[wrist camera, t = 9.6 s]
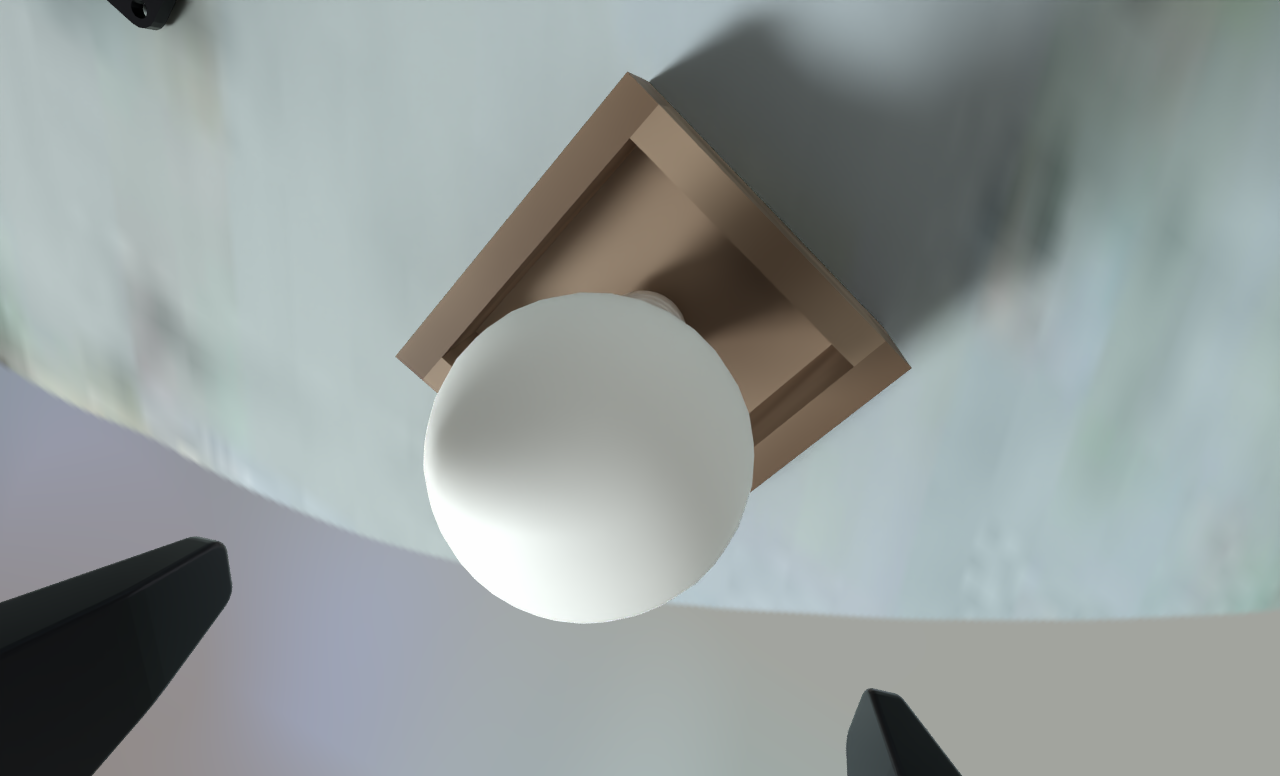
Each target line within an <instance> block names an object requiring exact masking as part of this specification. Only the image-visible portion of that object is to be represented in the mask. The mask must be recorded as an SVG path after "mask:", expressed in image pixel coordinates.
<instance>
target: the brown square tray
mask: <svg viewBox="0 0 1280 776" xmlns="http://www.w3.org/2000/svg"><path fill="white" fill-rule="evenodd" d="M639 290H643V291H652V292H656V293H659V294H661V295H663V296H665V297H667V298H668V299H670V300H671V301H672V302H673V303H674V304H675V305H676V306H677V307H678V309H679V310H680V312H681V313H682V315H683V318H684V320H685V323H686V324H687V325H689V326H690V327H692V328H693V329H695V330H696V331H697V332H698V333H699V334H700V335H701V336H702V337H703V339H704V340H705V341H706V342H707V343H708V344H709V345H710V346H711V347H712V348H713V349H714V350H715V351H716V352H717V354H718V355H719V357H720V358H721V360H722V361H723V363H724V364H725V366H726V367H727V369H728V370H729V372H730V373H731V375H732V377H733V378H734V380H735V382H736V383H737V385H738V387H739V389H740V392H741V394H742V397H743V400H744V402H745V405H746V407H747V410H748V412H749V416H750V423H751V429H752V435H753V442H754V466H753V480H752V487H751V491H753V490H754V489H755V488H757V487H758V486H759V485H760V484H762V483H763V482H764V481H766V480H767V479H768V478H770V477H771V476H772V475H773V474H775V473H776V472H777V471H779V470H780V469H781V468H782V467H784V466H785V465H786V464H788V463H789V462H790V461H792V460H793V459H794V458H795V457H797V456H798V455H799V454H801V453H802V452H803V451H805V450H806V449H807V448H808V447H810V446H811V445H812V444H814V443H815V442H816V441H818V440H819V439H820V438H821V437H823V436H824V435H825V434H827V433H828V432H829V431H831V430H832V429H833V428H834V427H836V426H837V425H838V424H840V423H841V422H842V421H843V420H845V419H846V418H847V417H849V416H850V415H851V414H853V413H854V412H855V411H856V410H858V409H859V408H860V407H862V406H863V405H864V404H866V403H867V402H868V401H869V400H871V399H872V398H873V397H875V396H876V395H877V394H879V393H880V392H881V391H882V390H884V389H885V388H886V387H888V386H889V385H890V384H892V383H893V382H894V381H895V380H897V379H898V378H899V377H901V376H902V375H903V374H904V373H906V372H907V371H908V370H910V369H911V367H910V365H909V364H908V362H907V361H906V359H905V358H904V357H903V355H902V354H901V352H900V351H899V349H898V348H897V346H896V345H895V344H894V342H893V341H892V339H891V338H890V336H889V335H888V334H887V332H886V331H885V329H884V328H883V327H882V326H881V325H880V324H879V323H878V322H877V320H876V319H875V318H874V317H873V316H872V315H871V314H870V313H869V312H868V311H867V310H866V309H865V308H864V307H863V306H862V305H861V304H860V303H859V302H858V301H857V300H856V298H855V297H854V296H853V295H852V294H851V293H850V292H849V291H848V290H847V289H846V288H845V287H844V286H843V285H842V284H841V283H840V282H839V281H838V280H837V279H836V278H835V276H834V275H833V274H832V273H831V272H830V271H829V270H828V269H827V268H826V267H825V266H824V265H823V264H822V263H821V262H820V261H819V260H818V259H817V258H816V257H815V256H814V254H813V253H812V252H811V251H810V250H809V249H808V248H807V247H806V246H805V245H804V244H803V243H802V242H801V241H800V240H799V239H798V238H797V237H796V236H795V235H794V234H793V232H792V231H791V230H790V229H789V228H788V227H787V226H786V225H785V224H784V223H783V222H782V221H781V220H780V219H779V218H778V217H777V216H776V215H775V214H774V213H773V212H772V210H771V209H770V208H769V207H768V206H767V205H766V204H765V203H764V202H763V201H762V200H761V199H760V198H759V197H758V196H757V195H756V194H755V193H754V192H753V191H752V190H751V188H750V187H749V186H748V185H747V184H746V183H745V182H744V181H743V180H742V179H741V178H740V177H739V176H738V175H737V174H736V173H735V172H734V171H733V170H732V169H731V168H730V166H729V165H728V164H727V163H726V162H725V161H724V160H723V159H722V158H721V157H720V156H719V155H718V154H717V153H716V152H715V151H714V150H713V149H712V148H711V147H710V146H709V144H708V143H707V142H706V141H705V140H704V139H703V138H702V137H701V136H700V135H699V134H698V133H697V132H696V131H695V130H694V129H693V128H692V127H691V126H690V125H689V124H688V122H687V121H686V120H685V119H684V118H683V117H682V116H681V115H680V114H679V113H678V112H677V111H676V110H675V109H674V108H673V107H672V106H671V105H670V104H669V103H668V102H667V100H666V99H665V98H664V97H663V96H662V95H661V94H660V93H659V92H658V91H657V90H656V89H655V88H654V87H653V86H652V85H651V84H650V83H649V82H648V81H646V80H644V79H642V78H640V77H638V76H636V75H633V74H631V73H629V72H627V73H626V74H625V75H624V77H623V78H622V79H621V80H620V81H619V83H618V84H617V85H616V86H615V88H614V89H613V90H612V91H611V93H610V94H609V95H608V96H607V97H606V99H605V100H604V101H603V102H602V104H601V105H600V106H599V107H598V108H597V110H596V111H595V112H594V113H593V115H592V116H591V117H590V118H589V119H588V121H587V122H586V123H585V124H584V126H583V127H582V128H581V129H580V131H579V132H578V133H577V134H576V135H575V137H574V138H573V139H572V140H571V142H570V143H569V144H568V145H567V146H566V148H565V149H564V150H563V151H562V153H561V154H560V155H559V156H558V158H557V159H556V160H555V161H554V162H553V164H552V165H551V166H550V167H549V169H548V170H547V171H546V172H545V173H544V175H543V176H542V177H541V178H540V180H539V181H538V182H537V183H536V185H535V186H534V187H533V188H532V189H531V191H530V192H529V193H528V194H527V196H526V197H525V198H524V199H523V200H522V202H521V203H520V204H519V205H518V207H517V208H516V209H515V210H514V212H513V213H512V214H511V215H510V216H509V218H508V219H507V220H506V221H505V223H504V224H503V225H502V226H501V227H500V229H499V230H498V231H497V232H496V234H495V235H494V236H493V237H492V239H491V240H490V241H489V242H488V243H487V245H486V246H485V247H484V248H483V250H482V251H481V252H480V253H479V254H478V256H477V257H476V258H475V259H474V261H473V262H472V263H471V264H470V266H469V267H468V268H467V269H466V270H465V272H464V273H463V274H462V275H461V277H460V278H459V279H458V280H457V281H456V283H455V284H454V285H453V286H452V288H451V289H450V290H449V291H448V293H447V294H446V295H445V296H444V297H443V299H442V300H441V301H440V302H439V304H438V305H437V306H436V307H435V308H434V310H433V311H432V312H431V313H430V315H429V316H428V317H427V318H426V320H425V321H424V322H423V323H422V324H421V326H420V327H419V328H418V329H417V331H416V332H415V333H414V334H413V335H412V337H411V338H410V339H409V340H408V342H407V343H406V344H405V345H404V347H403V348H402V349H401V350H400V351H399V353H398V354H397V355H396V356H395V357H397V358H398V359H399V360H400V361H401V362H402V363H403V364H405V365H406V366H407V367H408V368H409V369H410V370H412V371H413V372H414V373H415V374H416V375H417V376H418V377H420V378H421V379H422V380H423V381H424V382H425V383H426V384H428V385H429V386H430V387H431V388H432V389H433V390H434V391H436V392H437V393H438V392H439V390H440V388H441V386H442V384H443V382H444V380H445V378H446V377H447V375H448V373H449V371H450V369H451V368H452V366H453V364H454V362H455V361H456V359H457V358H458V357H459V356H460V355H461V353H462V352H463V351H464V350H465V349H466V348H467V347H468V346H469V345H470V344H471V343H472V341H473V340H474V339H475V338H476V337H477V336H479V335H480V334H481V333H482V332H483V331H484V330H485V329H487V328H488V327H489V326H491V325H492V324H494V323H495V322H497V321H498V320H500V319H501V318H503V317H504V316H505V315H507V314H508V313H510V312H511V311H514V310H516V309H519V308H521V307H524V306H526V305H529V304H531V303H534V302H537V301H539V300H543V299H548V298H553V297H559V296H564V295H570V294H576V293H612V294H616V295H621V296H623V295H624V294H627V293H630V292H633V291H639ZM751 491H750V492H751Z"/></svg>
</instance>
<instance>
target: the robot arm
mask: <svg viewBox="0 0 1280 776" xmlns="http://www.w3.org/2000/svg"><path fill="white" fill-rule="evenodd" d="M107 1H109V2H110V3H111V4H112V5H113V6H114V7H115V8H116V9H117V10H119V11H120V12H121V13H122V14H123V15H124V16H125V17H126V18H127V19H128V20H130V21H131V22H132V23H133V24H135V25H136V26H138V27H140V28H146V29H152V30H158V29H161V28H162V27H163V26H164V25H165V23H166V21H167V19H168V17H169V14H170V12H171V10H172V8H173V6H174V4H175V2H176V0H107ZM143 4H145V5H146V8H147V16H145V14H144V11H143ZM231 592H232V581H231V574H230V567H229V561H228V554H227V549H226V547H225V546H224V545H223V543H221V542H219V541H216V540H210V539H207V538H202V537H189V538H186V539H183V540H180V541H177V542H175V543H172V544H169V545H166V546H163V547H160V548H157V549H154V550H151V551H148V552H146V553H143V554H140V555H137V556H134V557H131V558H128V559H125V560H122V561H119V562H117V563H114V564H111V565H108V566H105V567H102V568H99V569H96V570H93V571H90V572H88V573H85V574H82V575H79V576H76V577H73V578H70V579H67V580H64V581H61V582H59V583H56V584H53V585H50V586H47V587H44V588H41V589H39V590H35V591H33V592H30V593H27V594H24V595H21V596H18V597H16V598H12V599H9V600H6V601H4V602H1V603H0V776H92V775H93V774H94V773H95V771H96V770H97V769H98V768H99V767H100V766H101V765H102V763H103V762H104V761H105V760H106V759H107V758H108V756H109V755H110V754H111V753H112V752H113V751H114V750H115V748H116V747H117V746H118V745H119V744H120V743H121V741H122V740H123V739H124V738H125V737H126V736H127V735H128V734H129V732H130V731H131V730H132V729H133V727H135V725H136V724H137V723H138V722H139V721H140V719H141V718H142V717H143V716H144V715H145V714H146V712H147V711H148V710H149V709H150V707H151V706H152V705H153V704H154V703H155V701H156V700H157V699H158V697H159V696H160V695H161V693H162V692H163V691H164V690H165V688H166V687H167V686H168V684H169V683H170V681H171V680H172V679H173V677H174V676H175V675H176V673H177V672H178V670H179V669H180V668H181V666H182V665H183V664H184V662H185V661H186V660H187V658H188V657H189V655H190V654H191V653H192V651H193V650H194V649H195V647H196V646H197V645H198V643H199V642H200V640H201V639H202V638H203V636H204V635H205V634H206V632H207V631H208V629H209V628H210V627H211V625H212V624H213V622H214V621H215V620H216V618H217V617H218V615H219V614H220V613H221V612H222V610H223V609H224V607H225V606H226V604H227V603H228V601H229V599H230V596H231ZM846 756H847V776H962V775H961V774H960V772H959V771H958V770H957V769H956V767H955V766H954V765H953V763H952V762H951V761H950V759H949V758H948V757H947V755H946V754H945V753H944V752H943V750H942V749H941V748H940V746H939V745H938V744H937V743H936V741H935V740H934V739H933V737H932V736H931V735H930V733H929V732H928V731H927V729H926V728H925V727H924V726H923V724H922V723H921V722H920V720H919V719H918V718H917V716H916V715H915V714H914V712H913V711H912V710H911V709H910V707H909V706H908V705H907V703H906V702H905V701H904V700H903V699H902V698H901V697H900V696H899V695H897V694H895V693H891V692H886V691H882V690H878V689H873V688H870V689H867V690H866V691H865V692H864V693H863V695H862V697H861V700H860V702H859V705H858V707H857V710H856V712H855V715H854V718H853V720H852V723H851V726H850V728H849V731H848V735H847V743H846Z"/></svg>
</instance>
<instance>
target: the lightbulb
mask: <svg viewBox="0 0 1280 776" xmlns="http://www.w3.org/2000/svg"><path fill="white" fill-rule="evenodd" d="M753 466H754V442H753V435H752V429H751V423H750V416H749V412H748V410H747V407H746V405H745V402H744V400H743V397H742V394H741V392H740V389H739V387H738V385H737V383H736V382H735V380H734V378H733V377H732V375H731V373H730V372H729V370H728V369H727V367H726V366H725V364H724V363H723V361H722V360H721V358H720V357H719V355H718V354H717V352H716V351H715V350H714V349H713V348H712V347H711V346H710V345H709V344H708V343H707V342H706V341H705V340H704V339H703V337H702V336H701V335H700V334H699V333H698V332H697V331H696V330H695V329H693V328H692V327H690V326H689V325H687V324H686V323H685V320H684V318H683V315H682V313H681V312H680V310H679V309H678V307H677V306H676V305H675V304H674V303H673V302H672V301H671V300H670V299H668V298H667V297H665V296H663V295H661V294H659V293H656V292H652V291H643V290H639V291H633V292H630V293H627V294H624V295H623V296H621V295H616V294H612V293H576V294H570V295H564V296H559V297H553V298H548V299H543V300H539V301H537V302H534V303H531V304H529V305H526V306H524V307H521V308H519V309H516V310H514V311H511V312H510V313H508V314H507V315H505V316H504V317H503V318H501V319H500V320H498V321H497V322H495V323H494V324H492V325H491V326H489V327H488V328H487V329H485V330H484V331H483V332H482V333H481V334H480V335H479V336H477V337H476V338H475V339H474V340H473V341H472V343H471V344H470V345H469V346H468V347H467V348H466V349H465V350H464V351H463V352H462V353H461V355H460V356H459V357H458V358H457V359H456V361H455V362H454V364H453V366H452V368H451V369H450V371H449V373H448V375H447V377H446V378H445V380H444V382H443V384H442V386H441V388H440V390H439V392H438V394H437V396H436V398H435V400H434V404H433V408H432V411H431V415H430V418H429V422H428V426H427V431H426V437H425V442H424V466H423V468H424V474H425V480H426V485H427V491H428V496H429V500H430V504H431V508H432V511H433V514H434V516H435V519H436V521H437V524H438V526H439V529H440V531H441V533H442V535H443V536H444V538H445V540H446V541H447V543H448V544H449V546H450V548H451V549H452V551H453V552H454V554H455V555H456V557H457V558H458V560H459V561H460V563H461V564H462V565H463V566H464V567H465V568H466V569H467V571H468V572H469V573H470V574H471V575H472V576H473V577H474V578H475V580H477V581H478V582H479V583H480V584H481V585H483V586H484V587H485V588H487V589H488V590H489V591H490V592H491V593H492V594H494V595H495V596H497V597H499V598H500V599H502V600H504V601H506V602H507V603H509V604H510V605H512V606H514V607H516V608H519V609H521V610H524V611H526V612H529V613H531V614H533V615H536V616H540V617H544V618H547V619H551V620H555V621H561V622H572V623H580V624H582V623H600V622H609V621H614V620H618V619H623V618H627V617H632V616H636V615H640V614H643V613H645V612H647V611H650V610H652V609H655V608H657V607H659V606H662V605H663V604H665V603H667V602H668V601H670V600H672V599H674V598H675V597H677V596H678V595H680V594H681V593H683V592H684V591H686V590H687V589H689V588H690V587H692V586H693V585H694V584H696V583H697V582H698V581H699V580H700V579H701V578H702V577H703V576H704V575H705V574H706V573H707V572H708V571H709V570H710V569H711V568H712V567H713V565H714V564H715V563H716V562H717V560H718V559H719V557H720V556H721V555H722V553H723V552H724V550H725V549H726V547H727V545H728V544H729V542H730V540H731V539H732V537H733V535H734V534H735V532H736V530H737V529H738V527H739V524H740V521H741V518H742V515H743V513H744V510H745V506H746V503H747V500H748V497H749V494H750V491H751V487H752V480H753Z"/></svg>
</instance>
